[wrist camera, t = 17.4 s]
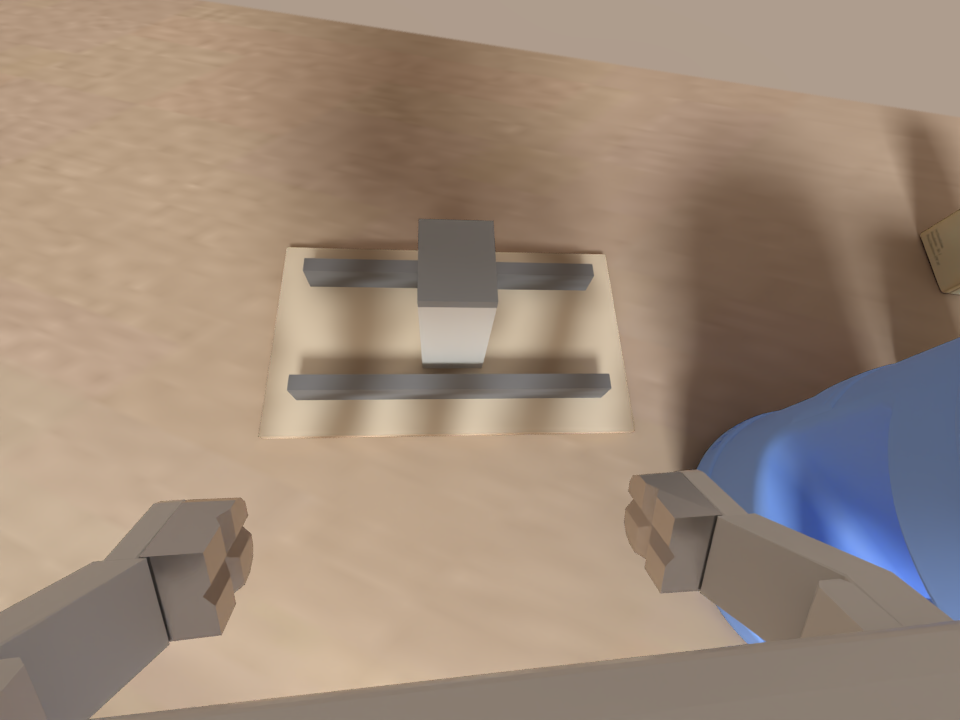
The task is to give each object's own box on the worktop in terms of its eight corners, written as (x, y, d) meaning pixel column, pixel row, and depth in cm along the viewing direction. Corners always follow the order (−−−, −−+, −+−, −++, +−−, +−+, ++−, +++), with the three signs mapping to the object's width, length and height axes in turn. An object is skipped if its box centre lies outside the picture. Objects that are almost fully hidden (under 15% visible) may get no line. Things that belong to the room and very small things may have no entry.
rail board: (261, 438, 28) (245, 428, 26) (289, 252, 34) (278, 229, 31) (631, 432, 31) (647, 422, 28) (602, 259, 36) (614, 238, 34)
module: (422, 368, 30) (417, 300, 22) (423, 303, 32) (418, 218, 24) (481, 368, 31) (498, 302, 23) (479, 303, 33) (493, 220, 24)
